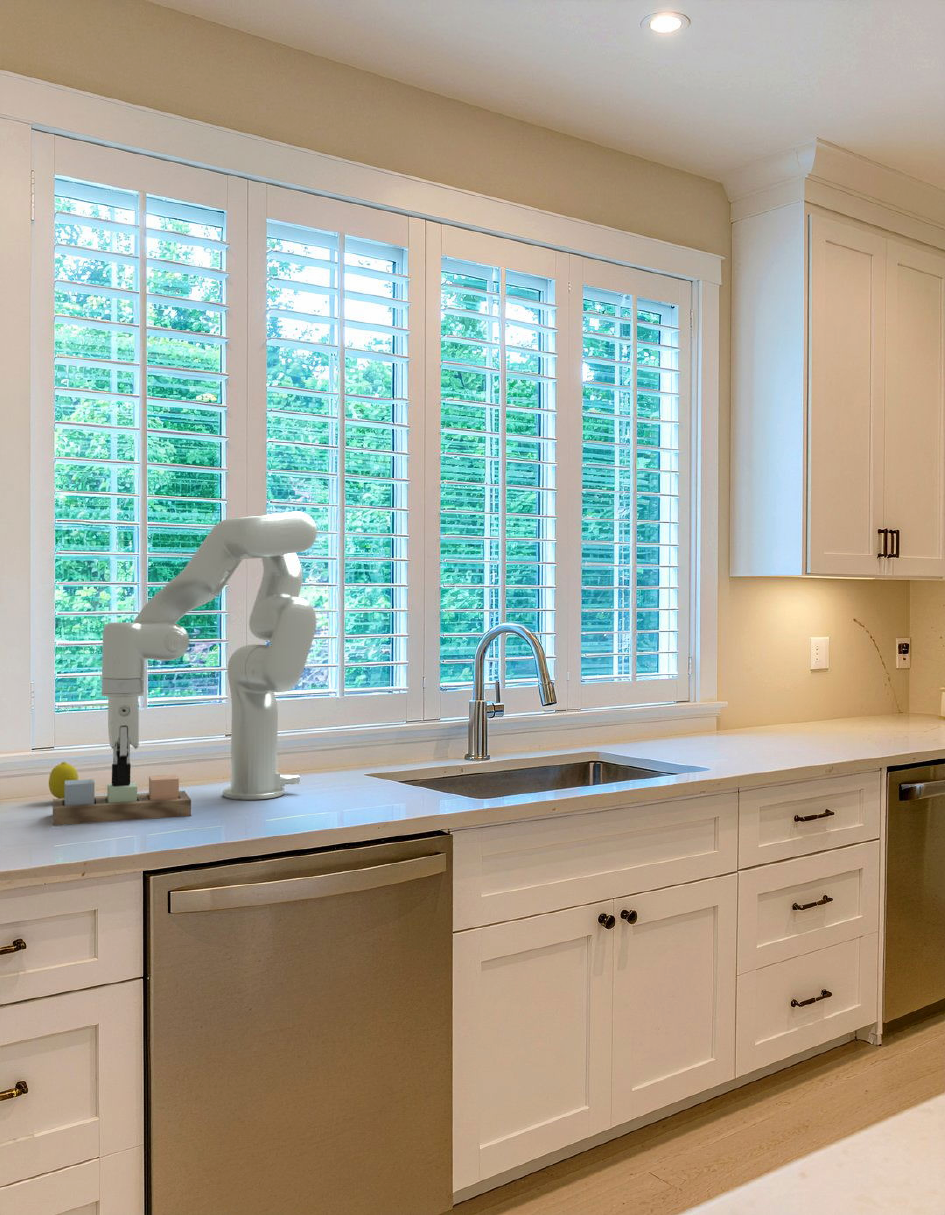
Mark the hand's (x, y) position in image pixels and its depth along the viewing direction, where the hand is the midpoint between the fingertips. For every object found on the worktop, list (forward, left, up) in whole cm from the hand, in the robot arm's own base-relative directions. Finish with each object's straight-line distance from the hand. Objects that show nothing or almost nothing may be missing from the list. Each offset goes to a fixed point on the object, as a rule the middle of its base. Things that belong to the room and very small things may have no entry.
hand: (120, 785), depth 185 cm
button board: (0, 0, -6) cm, 6 cm away
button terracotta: (-8, 0, -4) cm, 9 cm away
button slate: (+7, 0, -4) cm, 8 cm away
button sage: (0, 0, -5) cm, 5 cm away
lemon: (+10, -18, -6) cm, 21 cm away
